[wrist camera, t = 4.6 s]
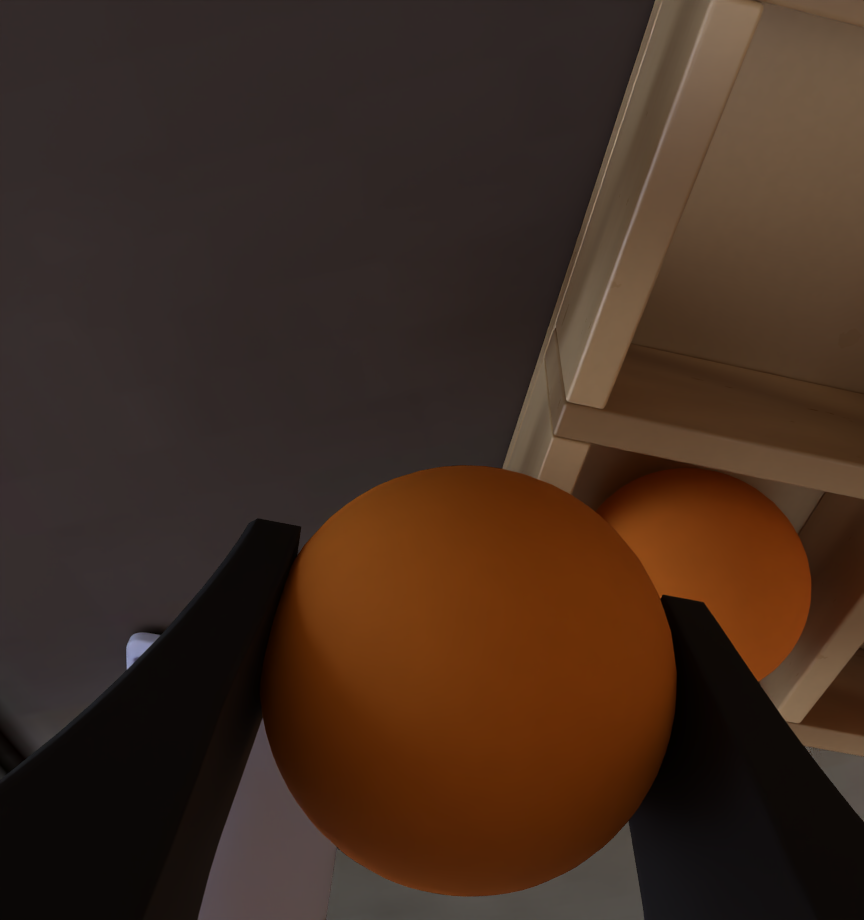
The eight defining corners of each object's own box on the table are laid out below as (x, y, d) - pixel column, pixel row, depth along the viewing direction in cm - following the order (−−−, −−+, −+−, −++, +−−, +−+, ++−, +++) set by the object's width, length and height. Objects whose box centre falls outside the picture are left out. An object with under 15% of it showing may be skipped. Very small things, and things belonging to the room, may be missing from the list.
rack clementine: (722, 597, 23) (774, 763, 19) (540, 561, 22) (551, 724, 18) (811, 448, 20) (898, 608, 16) (603, 404, 19) (634, 556, 15)
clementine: (582, 668, 15) (619, 1003, 11) (287, 616, 15) (200, 941, 10) (696, 430, 12) (818, 768, 7) (322, 354, 11) (219, 664, 7)
